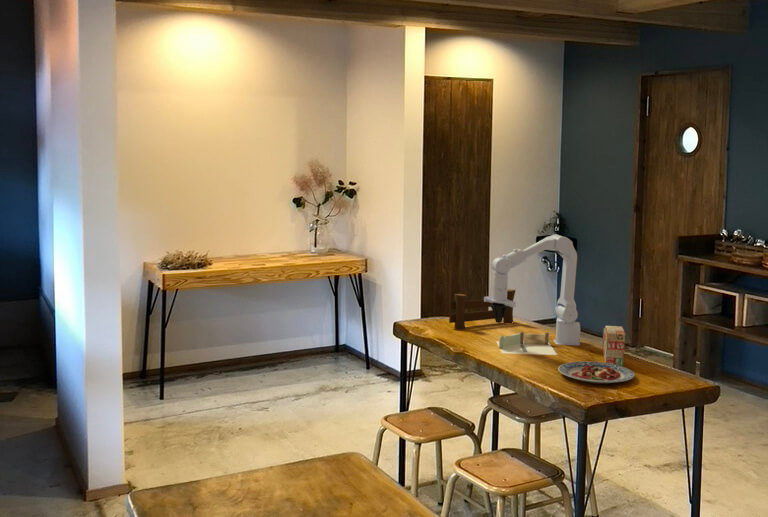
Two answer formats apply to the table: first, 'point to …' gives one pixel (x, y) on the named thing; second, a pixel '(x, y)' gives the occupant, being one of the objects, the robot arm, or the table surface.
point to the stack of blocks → (613, 344)
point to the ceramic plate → (596, 372)
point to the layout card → (528, 349)
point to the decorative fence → (462, 317)
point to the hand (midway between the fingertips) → (498, 322)
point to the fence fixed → (534, 338)
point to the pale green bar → (509, 340)
